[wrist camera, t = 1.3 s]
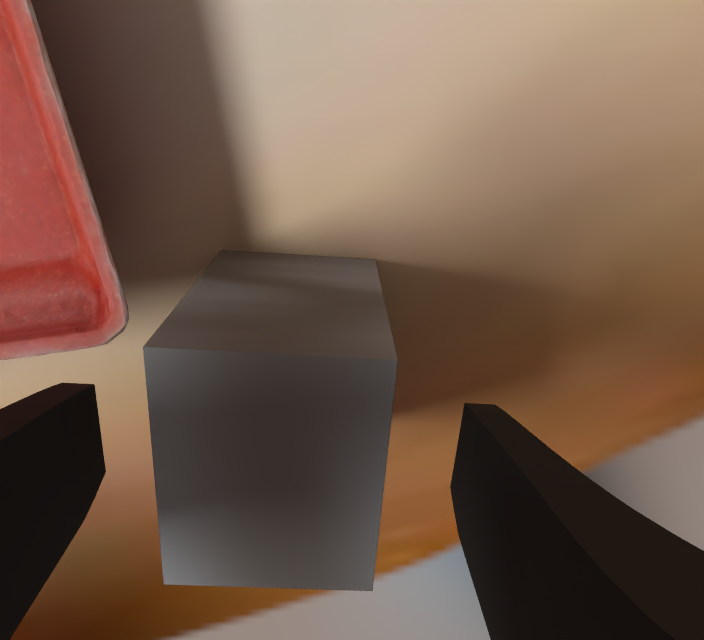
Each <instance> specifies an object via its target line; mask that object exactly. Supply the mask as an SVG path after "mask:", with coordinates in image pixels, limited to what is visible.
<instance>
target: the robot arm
mask: <svg viewBox="0 0 704 640" xmlns="http://www.w3.org/2000/svg"><path fill="white" fill-rule="evenodd" d="M105 472H106V470H105V463H104V455H103V447H102V439H101V432H100V424H99V416H98V408H97V401H96V393H95V385H94V384H76V383H60V384H57V385H54V386H52V387H49V388H46V389H44V390H42V391H39V392H37V393H35V394H32V395H30V396H28V397H26V398H24V399H21V400H19V401H17V402H15V403H13V404H11V405H8V406H6V407H4V408H2V409H0V640H10V639H11V637H12V635H13V633H14V632H15V630H16V628H17V627H18V625H19V624H20V622H21V620H22V619H23V617H24V616H25V614H26V613H27V611H28V609H29V608H30V606H31V605H32V603H33V601H34V600H35V598H36V597H37V595H38V593H39V592H40V590H41V589H42V587H43V585H44V584H45V582H46V581H47V579H48V578H49V576H50V574H51V573H52V571H53V570H54V568H55V566H56V565H57V563H58V562H59V560H60V558H61V557H62V555H63V554H64V552H65V550H66V549H67V547H68V546H69V544H70V542H71V541H72V539H73V537H74V536H75V534H76V533H77V531H78V529H79V528H80V526H81V524H82V523H83V521H84V519H85V517H86V515H87V513H88V511H89V509H90V507H91V504H92V502H93V500H94V498H95V496H96V493H97V491H98V489H99V486H100V484H101V482H102V479H103V477H104V475H105ZM450 488H451V494H452V500H453V506H454V513H455V518H456V524H457V529H458V534H459V538H460V541H461V545H462V548H463V551H464V554H465V558H466V561H467V564H468V568H469V571H470V574H471V577H472V580H473V584H474V587H475V590H476V593H477V596H478V600H479V603H480V606H481V609H482V613H483V616H484V619H485V622H486V626H487V629H488V632H489V635H490V638H491V640H704V551H703V550H701V549H699V548H697V547H696V546H694V545H692V544H690V543H689V542H687V541H685V540H683V539H681V538H680V537H678V536H676V535H675V534H673V533H671V532H669V531H668V530H666V529H665V528H663V527H661V526H660V525H658V524H657V523H655V522H653V521H651V520H650V519H648V518H647V517H645V516H643V515H642V514H640V513H639V512H637V511H635V510H634V509H632V508H631V507H629V506H628V505H626V504H625V503H623V502H622V501H620V500H619V499H617V498H616V497H615V496H613V495H612V494H610V493H609V492H607V491H606V490H605V489H603V488H602V487H600V486H599V485H598V484H596V483H595V482H593V481H592V480H591V479H589V478H588V477H586V476H585V475H584V474H582V473H581V472H580V471H578V470H577V469H576V468H574V467H573V466H572V465H571V464H569V463H568V462H567V461H565V460H564V459H563V458H562V457H560V456H559V455H558V454H557V453H555V452H554V451H553V450H552V449H550V448H549V447H548V446H547V445H545V444H544V443H543V442H542V441H540V440H539V439H538V438H537V437H536V436H534V435H533V434H532V433H531V432H529V431H528V430H527V429H526V428H525V427H523V426H522V425H521V424H520V423H518V422H517V421H516V420H515V419H514V418H512V417H511V416H510V415H509V414H507V413H506V412H505V411H503V410H502V409H501V408H499V407H498V406H496V405H491V404H471V403H465V404H464V410H463V416H462V422H461V428H460V433H459V439H458V445H457V451H456V457H455V463H454V469H453V475H452V481H451V487H450Z"/></svg>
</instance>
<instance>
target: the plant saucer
mask: <svg viewBox="0 0 704 640" xmlns="http://www.w3.org/2000/svg"><path fill="white" fill-rule="evenodd" d="M128 319H129V314H128V305H127V302H126V299H125V296H124V293H123V290H122V286H121V283H120V279H119V276H118V273H117V270H116V267H115V264H114V261H113V258H112V255H111V252H110V249H109V246H108V242H107V239H106V235H105V232H104V229H103V225H102V222H101V219H100V216H99V213H98V210H97V207H96V204H95V200H94V197H93V194H92V191H91V188H90V185H89V182H88V179H87V176H86V172H85V169H84V166H83V163H82V160H81V157H80V154H79V150H78V147H77V144H76V141H75V138H74V135H73V131H72V128H71V125H70V122H69V119H68V116H67V112H66V109H65V106H64V103H63V100H62V97H61V93H60V90H59V87H58V84H57V81H56V78H55V75H54V71H53V68H52V65H51V62H50V59H49V56H48V53H47V49H46V46H45V43H44V40H43V37H42V34H41V31H40V27H39V24H38V21H37V18H36V15H35V11H34V8H33V5H32V2H31V0H0V360H5V359H13V358H22V357H30V356H38V355H44V354H49V353H56V352H66V351H72V350H77V349H84V348H90V347H96V346H100V345H104V344H108V343H109V342H110V341H111V340H112V339H114V338H115V337H116V336H118V335H119V334H120V333H122V332H123V330H124V329H125V327H126V325H127V323H128Z"/></svg>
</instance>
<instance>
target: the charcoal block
mask: <svg viewBox="0 0 704 640" xmlns="http://www.w3.org/2000/svg"><path fill="white" fill-rule="evenodd" d="M143 351H144V363H145V374H146V386H147V397H148V409H149V420H150V432H151V443H152V455H153V466H154V478H155V489H156V500H157V512H158V523H159V535H160V546H161V558H162V569H163V581H164V584H166V585H198V586H229V587H261V588H292V589H324V590H355V591H357V590H358V591H372V590H373V581H374V572H375V563H376V554H377V545H378V536H379V527H380V518H381V509H382V500H383V491H384V482H385V473H386V464H387V455H388V446H389V437H390V428H391V419H392V410H393V401H394V392H395V383H396V374H397V365H398V358H397V354H396V349H395V345H394V340H393V336H392V332H391V327H390V323H389V319H388V314H387V310H386V305H385V301H384V297H383V292H382V288H381V283H380V279H379V275H378V270H377V266H376V262H375V259H360V258H344V257H327V256H310V255H294V254H277V253H260V252H244V251H227V250H222V251H221V252H220V253H219V254H218V256H217V257H216V258H215V259H214V260H213V262H212V263H211V264H210V265H209V267H208V268H207V269H206V270H205V272H204V273H203V274H202V275H201V276H200V278H199V279H198V280H197V281H196V283H195V284H194V285H193V286H192V288H191V289H190V290H189V291H188V292H187V294H186V295H185V296H184V297H183V299H182V300H181V301H180V302H179V304H178V305H177V306H176V307H175V308H174V310H173V311H172V312H171V313H170V315H169V316H168V317H167V318H166V320H165V321H164V322H163V323H162V324H161V326H160V327H159V328H158V329H157V331H156V332H155V333H154V334H153V336H152V337H151V338H150V339H149V340H148V342H147V343H146V344H145V345H144V347H143Z"/></svg>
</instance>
